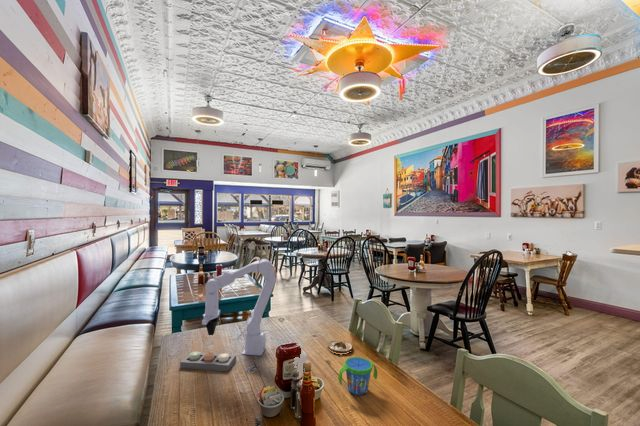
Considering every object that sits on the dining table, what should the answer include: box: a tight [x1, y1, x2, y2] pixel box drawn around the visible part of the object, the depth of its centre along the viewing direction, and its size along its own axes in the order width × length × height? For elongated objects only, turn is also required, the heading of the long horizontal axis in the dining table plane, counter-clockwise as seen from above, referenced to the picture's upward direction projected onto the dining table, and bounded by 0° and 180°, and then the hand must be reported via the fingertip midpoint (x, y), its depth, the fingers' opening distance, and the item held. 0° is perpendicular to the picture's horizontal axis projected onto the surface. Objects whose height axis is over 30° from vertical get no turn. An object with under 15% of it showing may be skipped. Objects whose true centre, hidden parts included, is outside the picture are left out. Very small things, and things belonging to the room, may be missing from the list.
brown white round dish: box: [327, 340, 354, 353], centre depth 144 cm, size 15×15×4 cm
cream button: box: [218, 353, 229, 363], centre depth 126 cm, size 4×4×2 cm
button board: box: [179, 351, 237, 372], centre depth 127 cm, size 21×9×2 cm, turn 85°
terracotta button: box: [204, 352, 215, 362], centre depth 127 cm, size 4×4×2 cm
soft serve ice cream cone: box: [293, 343, 308, 377], centre depth 113 cm, size 8×8×16 cm
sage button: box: [188, 351, 201, 361], centre depth 128 cm, size 4×4×2 cm
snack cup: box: [337, 356, 378, 396], centre depth 111 cm, size 16×10×10 cm
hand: (211, 334), depth 135 cm, fingers closed
